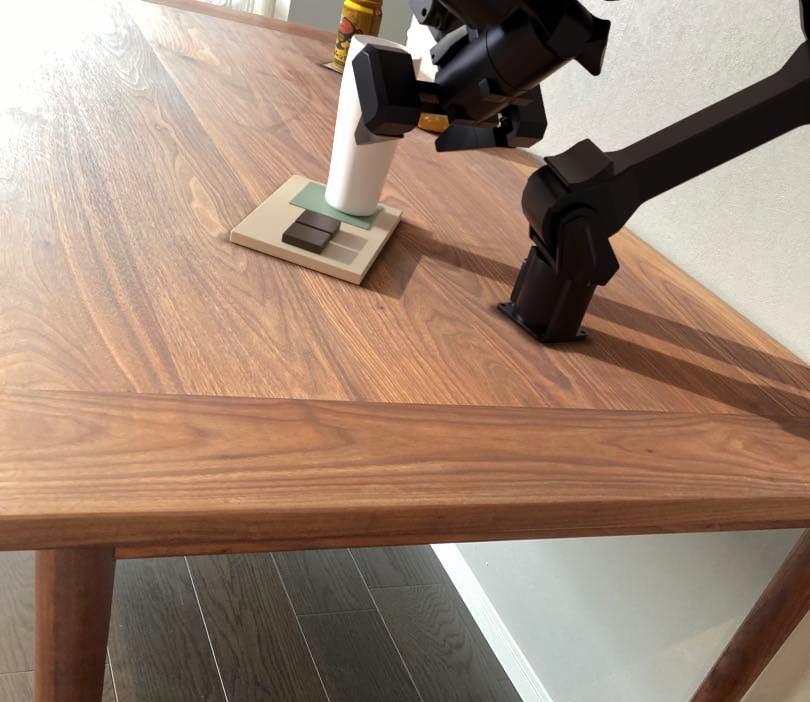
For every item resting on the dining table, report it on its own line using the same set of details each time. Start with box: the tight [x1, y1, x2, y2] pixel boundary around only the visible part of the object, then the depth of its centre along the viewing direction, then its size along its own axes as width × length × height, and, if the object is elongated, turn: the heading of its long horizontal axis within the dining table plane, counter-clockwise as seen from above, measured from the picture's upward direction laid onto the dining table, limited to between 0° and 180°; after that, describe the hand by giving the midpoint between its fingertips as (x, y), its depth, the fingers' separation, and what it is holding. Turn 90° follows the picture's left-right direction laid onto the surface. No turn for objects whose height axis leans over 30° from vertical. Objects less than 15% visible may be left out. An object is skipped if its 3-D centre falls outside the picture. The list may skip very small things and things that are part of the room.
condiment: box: [321, 0, 384, 74], centre depth 141 cm, size 7×8×12 cm
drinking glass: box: [325, 35, 423, 216], centre depth 88 cm, size 7×7×15 cm
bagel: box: [416, 115, 451, 133], centre depth 130 cm, size 10×11×5 cm
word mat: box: [229, 173, 404, 286], centre depth 88 cm, size 20×12×2 cm, turn 169°
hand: (397, 143), depth 84 cm, fingers open, 9 cm apart
